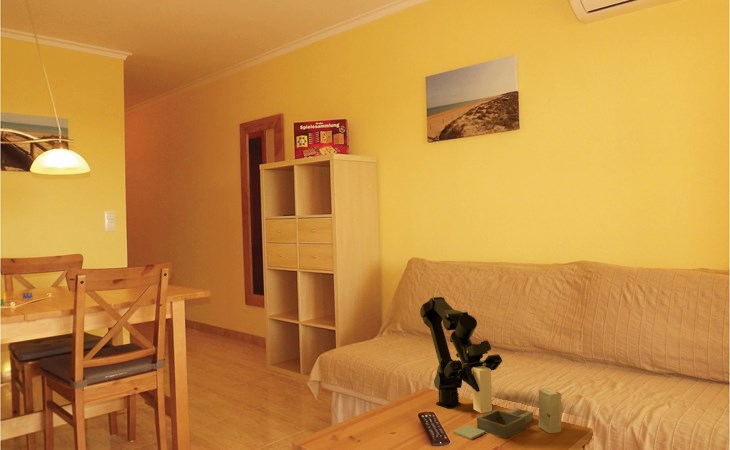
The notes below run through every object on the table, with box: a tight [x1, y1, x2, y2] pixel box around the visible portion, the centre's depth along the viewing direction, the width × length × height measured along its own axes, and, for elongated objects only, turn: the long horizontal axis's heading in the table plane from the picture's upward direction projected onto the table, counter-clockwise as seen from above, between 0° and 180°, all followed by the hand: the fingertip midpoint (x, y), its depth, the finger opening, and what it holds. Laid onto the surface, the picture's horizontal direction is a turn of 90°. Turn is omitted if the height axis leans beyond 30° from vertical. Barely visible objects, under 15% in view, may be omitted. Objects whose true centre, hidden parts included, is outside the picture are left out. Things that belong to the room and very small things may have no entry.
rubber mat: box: [452, 424, 487, 440], centre depth 168 cm, size 7×7×1 cm
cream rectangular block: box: [472, 366, 493, 414], centre depth 168 cm, size 4×4×13 cm
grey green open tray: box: [476, 407, 534, 440], centre depth 173 cm, size 10×18×4 cm, turn 130°
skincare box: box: [538, 387, 562, 434], centre depth 168 cm, size 6×4×12 cm
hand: (484, 390), depth 167 cm, fingers closed on cream rectangular block, 4 cm apart
